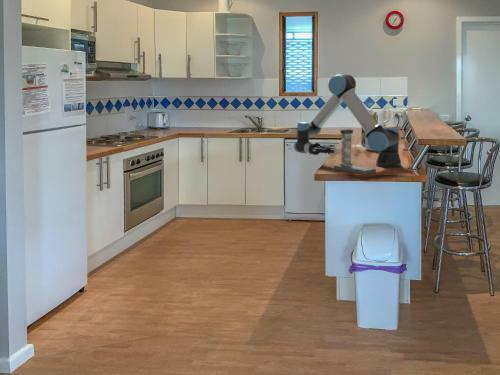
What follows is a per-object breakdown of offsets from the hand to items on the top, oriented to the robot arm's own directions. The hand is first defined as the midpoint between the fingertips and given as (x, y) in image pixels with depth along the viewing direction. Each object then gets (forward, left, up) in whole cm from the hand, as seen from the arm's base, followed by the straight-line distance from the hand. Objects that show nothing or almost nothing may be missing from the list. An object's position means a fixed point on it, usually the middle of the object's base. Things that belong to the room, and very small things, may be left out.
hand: (338, 151), depth 429 cm
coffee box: (-48, -112, -10) cm, 122 cm away
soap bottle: (-45, -87, -10) cm, 99 cm away
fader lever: (-3, +6, -8) cm, 10 cm away
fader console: (-7, +12, -10) cm, 17 cm away
